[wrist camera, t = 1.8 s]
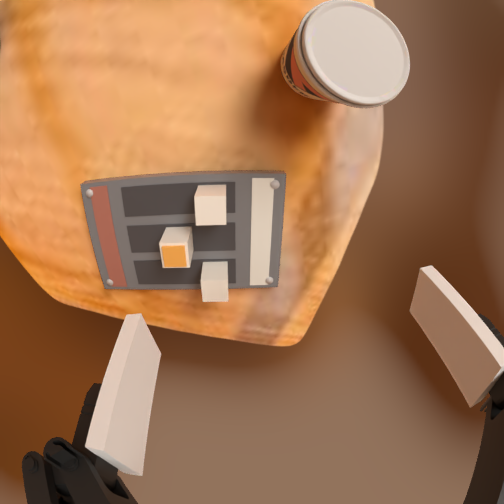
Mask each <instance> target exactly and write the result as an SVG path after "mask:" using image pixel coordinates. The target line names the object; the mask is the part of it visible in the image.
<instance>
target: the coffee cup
mask: <svg viewBox="0 0 504 504" xmlns="http://www.w3.org/2000/svg"><path fill="white" fill-rule="evenodd" d="M409 70H410V59H409V53H408V49H407V46H406V43H405V41H404V39H403V37H402V35H401V33H400V32H399V30H398V29H397V27H396V26H395V25H394V24H393V23H392V22H391V20H389V19H388V18H387V17H386V16H385V15H384V14H382V13H381V12H380V11H378V10H377V9H375V8H373V7H371V6H369V5H367V4H364V3H361V2H357V1H351V0H331V1H326V2H323V3H321V4H319V5H317V6H315V7H314V8H312V9H311V10H310V11H309V12H308V13H307V14H306V15H305V16H304V17H303V19H302V21H301V23H300V25H299V27H298V29H297V30H296V32H295V33H294V35H293V37H292V38H291V40H290V41H289V43H288V45H287V46H286V48H285V50H284V52H283V54H282V58H281V71H282V75H283V77H284V79H285V81H286V82H287V84H288V85H289V86H290V87H291V88H292V89H293V90H294V91H295V92H297V93H298V94H300V95H302V96H304V97H307V98H311V99H315V100H322V101H328V102H334V103H341V104H344V105H347V106H351V107H356V108H373V107H378V106H381V105H384V104H386V103H388V102H389V101H391V100H392V99H394V98H395V97H396V96H397V95H398V93H399V92H400V91H401V90H402V89H403V87H404V85H405V83H406V81H407V78H408V75H409Z"/></svg>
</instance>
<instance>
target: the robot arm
mask: <svg viewBox="0 0 504 504" xmlns="http://www.w3.org/2000/svg"><path fill="white" fill-rule="evenodd" d="M410 312H411V314H412V315H413V317H414V318H415V320H416V321H417V322H418V324H419V325H420V327H421V328H422V330H423V331H424V332H425V334H426V336H427V337H428V338H429V340H430V341H431V343H432V345H433V346H434V347H435V349H436V351H437V352H438V354H439V355H440V357H441V358H442V360H443V361H444V363H445V365H446V366H447V368H448V370H449V371H450V373H451V375H452V376H453V378H454V379H455V381H456V383H457V385H458V386H459V388H460V390H461V392H462V393H463V395H464V397H465V399H466V401H467V402H468V404H469V406H470V407H472V406H473V405H475V404H477V403H478V402H480V401H482V400H483V398H484V397H485V396H486V395H487V394H488V392H489V394H490V397H489V398H488V399H487V401H486V402H485V403H484V404H483V405H482V407H481V409H480V411H482V410H483V409H484V408H485V407H486V406H487V408H486V410H485V412H486V419H485V425H484V431H483V436H482V441H481V446H480V450H479V454H478V458H477V462H476V466H475V470H474V473H473V477H472V480H471V483H470V486H469V489H468V492H467V495H466V498H465V500H464V503H463V504H504V337H503V336H502V335H500V332H499V331H498V330H497V329H495V326H494V325H493V324H492V322H491V321H490V320H489V319H487V318H486V317H485V316H483V315H481V314H478V315H477V314H476V313H475V311H474V310H473V309H472V308H471V307H470V306H469V305H468V304H467V302H466V301H465V300H464V299H463V298H462V297H461V296H460V295H459V293H458V292H457V291H456V290H455V289H454V288H453V287H452V286H451V285H450V284H449V283H448V282H447V281H446V280H445V278H444V277H443V276H442V275H441V274H440V273H439V272H438V271H437V270H436V269H435V268H434V267H433V266H427V267H423V268H420V272H419V276H418V280H417V284H416V289H415V292H414V296H413V300H412V304H411V307H410ZM160 357H161V352H160V351H159V349H158V347H157V345H156V343H155V341H154V339H153V337H152V335H151V333H150V331H149V329H148V327H147V325H146V323H145V321H144V318H143V316H142V314H130V315H126V318H125V320H124V323H123V325H122V328H121V331H120V334H119V336H118V339H117V341H116V344H115V347H114V350H113V353H112V356H111V359H110V361H109V364H108V368H107V370H106V373H105V376H104V379H103V383H102V384H97V383H94V384H93V385H92V387H91V388H90V390H89V391H88V392H87V395H86V398H85V401H84V406H83V407H82V410H81V414H80V417H79V421H78V424H77V428H76V431H75V435H74V439H73V442H72V445H71V444H70V443H69V442H67V441H66V440H64V439H63V438H60V437H56V438H52V439H51V440H50V441H48V442H47V443H46V445H45V447H44V452H43V455H44V457H43V456H41V455H40V454H39V453H37V452H35V451H34V452H33V451H31V452H28V453H27V454H26V455H25V456H24V458H23V461H22V471H23V478H24V486H25V492H26V498H27V503H28V504H138V503H137V501H136V500H135V499H134V497H133V496H132V494H131V493H130V492H129V490H128V489H127V487H126V486H125V484H124V483H123V481H122V480H121V478H120V477H119V476H118V475H117V472H118V469H119V470H121V471H122V472H124V473H127V474H134V475H140V476H142V475H143V465H144V457H145V448H146V441H147V433H148V426H149V420H150V413H151V407H152V401H153V395H154V389H155V383H156V378H157V372H158V367H159V362H160Z"/></svg>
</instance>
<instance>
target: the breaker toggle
mask: <svg viewBox="0 0 504 504" xmlns="http://www.w3.org/2000/svg"><path fill="white" fill-rule="evenodd" d="M159 246H160V253H161V259H162V265H163V268H190V265H191V260H192V255H193V250H194V248H193V236H192V226H190V227H166V229H165V231H164V233H163V236H162V238H161V240H160V242H159Z"/></svg>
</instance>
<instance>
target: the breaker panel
mask: <svg viewBox="0 0 504 504" xmlns="http://www.w3.org/2000/svg"><path fill="white" fill-rule="evenodd" d="M80 185H81V191H82V197H83V202H84V208H85V213H86V218H87V223H88V227H89V232H90V236H91V240H92V244H93V248H94V252H95V256H96V260H97V263H98V267H99V271H100V274H101V277H102V281H103V284H104V287H105V289H201V290H202V300H203V302H223V301H228V289H234V288H266V287H278V278H279V267H280V255H281V242H282V229H283V215H284V201H285V186H286V173H285V172H284V171H255V170H241V171H197V172H176V173H160V174H147V175H135V176H124V177H115V178H106V179H98V180H90V181H85V182H84V183H82V184H80ZM190 226H192V236H193V248H194V250H193V255H192V260H191V265H190V268H163V265H162V259H161V253H160V246H159V242H160V240H161V238H162V236H163V233H164V231H165V229H166V227H190Z"/></svg>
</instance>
